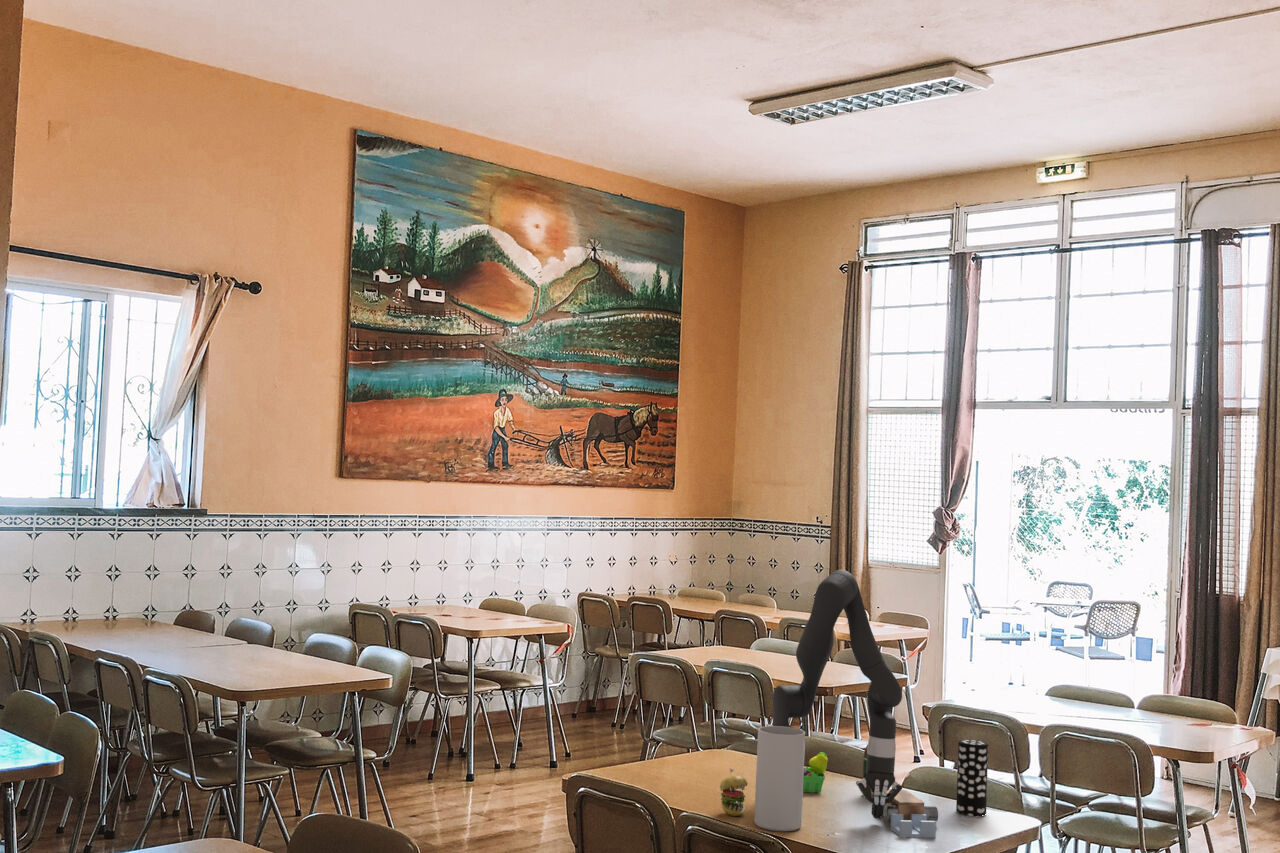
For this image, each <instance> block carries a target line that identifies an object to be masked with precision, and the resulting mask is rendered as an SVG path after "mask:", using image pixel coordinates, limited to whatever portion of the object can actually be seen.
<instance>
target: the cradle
mask: <svg viewBox="0 0 1280 853" xmlns="http://www.w3.org/2000/svg"><path fill="white" fill-rule="evenodd" d="M890 829H891V830H892V831H893V832H894V833H895V834H896V835H898V836H899V837H901V838H935V837H936V836H937V835H936V834H937V822H935V821H927V815H926V814H911V820H903V814H894V813H891V821H890Z"/></svg>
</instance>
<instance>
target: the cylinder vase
mask: <svg viewBox="0 0 1280 853" xmlns="http://www.w3.org/2000/svg"><path fill="white" fill-rule="evenodd" d="M791 727H792V726H791ZM791 727H782V726H773V725H767V726H761V727H758V729H757V746H756V747H757V748H756V749H757V750H756V774H755V794H754V819H753V822H754V824H755V825H756V826H757V827H759V828H760V829H764V830H766V831H771V832H772V831H774V832H794V831H797V830H799V829H801V827H802V824H803V822H802V818H803V803H802V798H804V792H803V773H804V768H805V754H804V748H806V731H804V730H802V729H799V728H795V727H793V728H791Z"/></svg>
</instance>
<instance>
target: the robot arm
mask: <svg viewBox="0 0 1280 853" xmlns="http://www.w3.org/2000/svg"><path fill="white" fill-rule="evenodd" d="M859 587H860V586H859V584H858V581H857V579H856V578H855V576H854V575H853V574H852V573H850V572H849V571H847V570H845V569H837V570H835V571H833V572H832V573H830V574H829V575H828V576H827V577H825V578H824V579H823V580H822V581H821V582H820V583H819V584H818V586H817V588H816V591H815V594H814V600H813V604H812V608H811V612H810V614H809V615H810V616H809V618H808V620H807V622H806V624H805V627H804V629H803V632H802V634H801V636H800V639H799V641H798V645H797V647H796V652H795V659H796V662H797V664H798V666H799V669H800V671H801V673H802V680H801V683H800V684H798V685H797V684H794V685H792V684H790V685H789V684H784V685H783V684H780V685H777V686H776V687H775V688H774V690H773V693H772V726H782V727H791V728H794V727H793V726H792V725H790V723H789V719H790V718H794V719H795V718H797V719H798V718H800V719H801V718H806V717H807V716H809V714H810V713H811V711H812V710H813V705H814V702H815V699H816V695H817V691H818V689H819V688H818V687H819V684H820V681H821V678H822V675H823V672H824V670H825V668H826V665H827V663H828V661H829V659H830V656H831V653H832V651H833V647H834V643H835V640H834V639H835V638H834V636H835V635H834V629H835V626H836V623H837V621H838V619H839V617H840V615H841V613H842V612H843V610H844V613H845V616H846V620H847V623H848V632H849V638H850V639H849V640H850V645H851V651H852V653H853V656H854V658H855V661H856V663H857V666H858V667H859V670H860V672H861V673H862V675H864V676H865V677H866V678H867V679H868V680H869V681H870V684H869V687H868V689H867V704H868V711H869V713H868V714H869V717H870V722H869V732H868V734H869V736H868V742H867V745H868V747H867V764H866V773H865V775H864V778H863V777H862V779H860V781H859V780H856V782H855V785H856V786H857V788H858V789H859V791H860V793H861V794H862V795H863V797H864V799H865V800H866V801H868V802H869V803H871V812H870V813H871V815H872V817H873V818H874V819H875V820H881V819H882V817H884V816H883V807H884V804H886V803H891V801H892V800H893V799H894V798H895V797H896V795H897V794H898V793H899V792H900V791H901V790H903V786H902V785H901V784H899V783H898V782H897V781H896V776H895V765H896V764H895V763H896V748H897V747H896V746H897V744H896V736H897V734H896V733H897V720H896V718H895V717H894V716H893V714H892V709H891V708H895V707H897V706H898V705H900V703H902V699H903V690H902V688H901V685H900V683H899V681H898V679H897V678H896V676H895V675H894V673H893V672H892V670H891V669H890V668H889V666H888V665H887V663H886V660H885V658H884V656H883V654H882V651H881V650H880V648H879V645H878V643H877V641H876V639H875V635H874V633H873V631H872V628H871V625H870V624H871V623H870V621H869V618H868V614H867V612H866V608H865V605H864V601H863V597H862V593H861V590H860V588H859ZM805 748H806V747H805ZM805 748H804V755H805V752H806V751H805V750H806V749H805ZM803 779H804V773H803ZM866 782H867V784H868V786H869V788H870V789H871V794H872V797H871V796H870V794H869V793H868V791H867V790H866ZM890 788H891V789H890ZM889 789H890V791H889V793H888V794H887V791H888V790H889ZM886 794H887V795H886ZM803 798H804V797H803ZM803 798H802V804H803Z"/></svg>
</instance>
